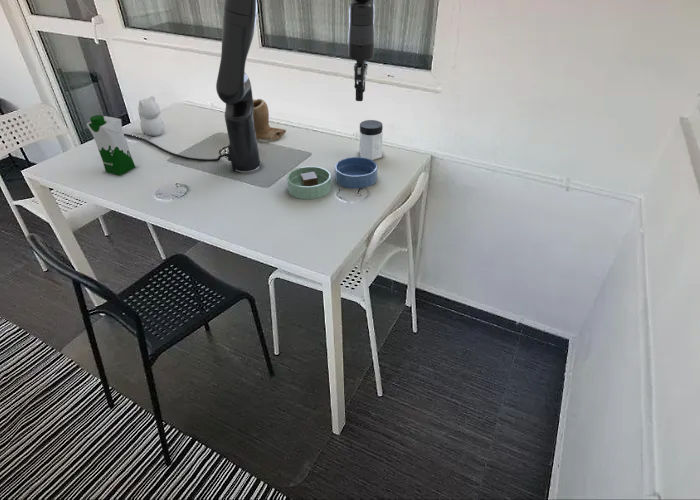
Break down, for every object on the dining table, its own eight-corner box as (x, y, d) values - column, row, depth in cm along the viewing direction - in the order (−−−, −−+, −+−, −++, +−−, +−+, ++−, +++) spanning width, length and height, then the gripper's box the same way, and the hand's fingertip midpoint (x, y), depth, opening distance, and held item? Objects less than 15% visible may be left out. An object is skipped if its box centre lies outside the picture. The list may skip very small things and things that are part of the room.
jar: (367, 162, 163) (367, 130, 156) (354, 154, 169) (354, 123, 161) (386, 156, 167) (388, 124, 160) (374, 148, 173) (374, 117, 165)
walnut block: (304, 192, 145) (303, 180, 142) (301, 186, 149) (300, 173, 146) (318, 190, 146) (317, 177, 144) (314, 183, 150) (313, 171, 147)
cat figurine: (154, 140, 182) (143, 103, 173) (134, 133, 187) (123, 97, 178) (172, 132, 188) (162, 96, 179) (152, 126, 193) (142, 91, 184)
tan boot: (239, 140, 180) (232, 103, 171) (255, 129, 189) (250, 93, 180) (272, 146, 175) (267, 108, 166) (287, 135, 184) (283, 98, 175)
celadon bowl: (285, 200, 143) (283, 186, 140) (291, 179, 154) (290, 166, 151) (329, 201, 142) (329, 187, 139) (332, 179, 153) (332, 166, 150)
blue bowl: (334, 190, 148) (333, 176, 145) (336, 170, 159) (336, 157, 156) (377, 190, 147) (377, 176, 144) (376, 170, 158) (376, 157, 155)
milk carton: (102, 173, 160) (80, 117, 147) (122, 162, 166) (103, 108, 154) (120, 177, 157) (100, 121, 144) (140, 166, 163) (122, 112, 151)
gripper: (350, 34, 138) (350, 88, 148) (345, 46, 127) (346, 103, 137) (375, 35, 137) (373, 89, 147) (372, 46, 126) (370, 104, 136)
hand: (360, 96), depth 142 cm, fingers open, 8 cm apart
